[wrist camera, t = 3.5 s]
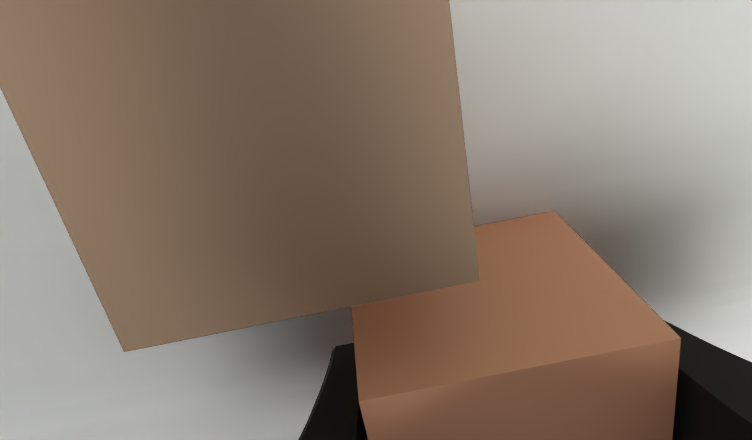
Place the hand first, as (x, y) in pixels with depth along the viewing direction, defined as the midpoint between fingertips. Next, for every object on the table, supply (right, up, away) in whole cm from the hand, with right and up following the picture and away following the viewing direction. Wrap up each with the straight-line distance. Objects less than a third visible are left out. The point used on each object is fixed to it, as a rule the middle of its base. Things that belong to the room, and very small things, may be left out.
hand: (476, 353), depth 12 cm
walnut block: (-4, +6, -1) cm, 7 cm away
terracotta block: (0, +1, +1) cm, 2 cm away
